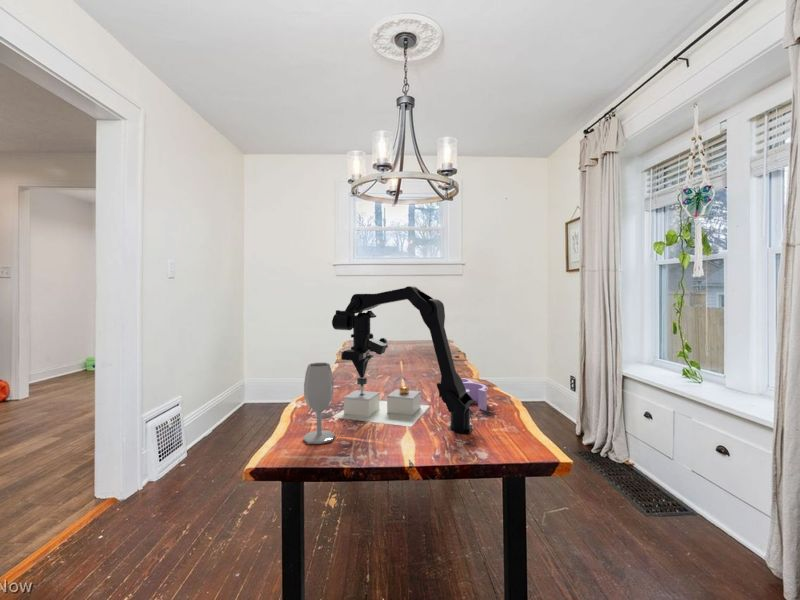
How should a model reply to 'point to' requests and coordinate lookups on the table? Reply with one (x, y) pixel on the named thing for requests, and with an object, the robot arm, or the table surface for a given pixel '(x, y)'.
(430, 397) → the table surface
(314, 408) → the wineglass
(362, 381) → the plunger
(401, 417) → the board
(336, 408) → the table surface
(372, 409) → the white square block
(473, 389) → the clip
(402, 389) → the plunger
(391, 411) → the white square box
